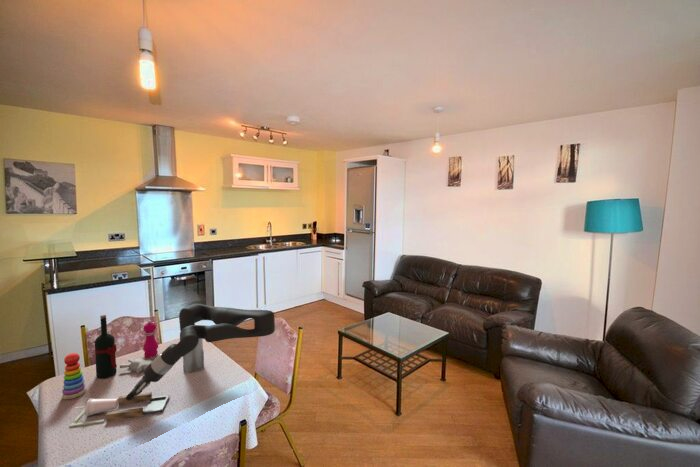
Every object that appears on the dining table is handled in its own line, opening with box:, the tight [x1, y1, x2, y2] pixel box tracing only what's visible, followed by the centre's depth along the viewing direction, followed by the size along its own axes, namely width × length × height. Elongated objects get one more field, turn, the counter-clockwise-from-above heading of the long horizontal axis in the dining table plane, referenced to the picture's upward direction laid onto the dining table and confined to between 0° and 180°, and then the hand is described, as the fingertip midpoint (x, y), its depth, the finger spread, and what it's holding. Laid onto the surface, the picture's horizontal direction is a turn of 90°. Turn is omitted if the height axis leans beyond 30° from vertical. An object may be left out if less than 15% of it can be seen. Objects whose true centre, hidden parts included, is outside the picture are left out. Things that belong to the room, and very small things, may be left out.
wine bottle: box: [94, 314, 118, 380], centre depth 152 cm, size 8×10×30 cm
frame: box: [68, 408, 106, 428], centre depth 125 cm, size 11×12×1 cm
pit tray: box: [143, 394, 170, 416], centre depth 131 cm, size 7×10×1 cm
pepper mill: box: [142, 319, 159, 358], centre depth 174 cm, size 7×7×20 cm
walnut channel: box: [105, 391, 153, 423], centre depth 129 cm, size 12×12×3 cm
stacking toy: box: [61, 352, 87, 400], centre depth 137 cm, size 8×8×19 cm
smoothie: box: [73, 397, 119, 417], centre depth 126 cm, size 6×6×14 cm
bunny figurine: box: [119, 357, 153, 374], centre depth 159 cm, size 10×5×15 cm
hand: (127, 398), depth 128 cm, fingers closed
